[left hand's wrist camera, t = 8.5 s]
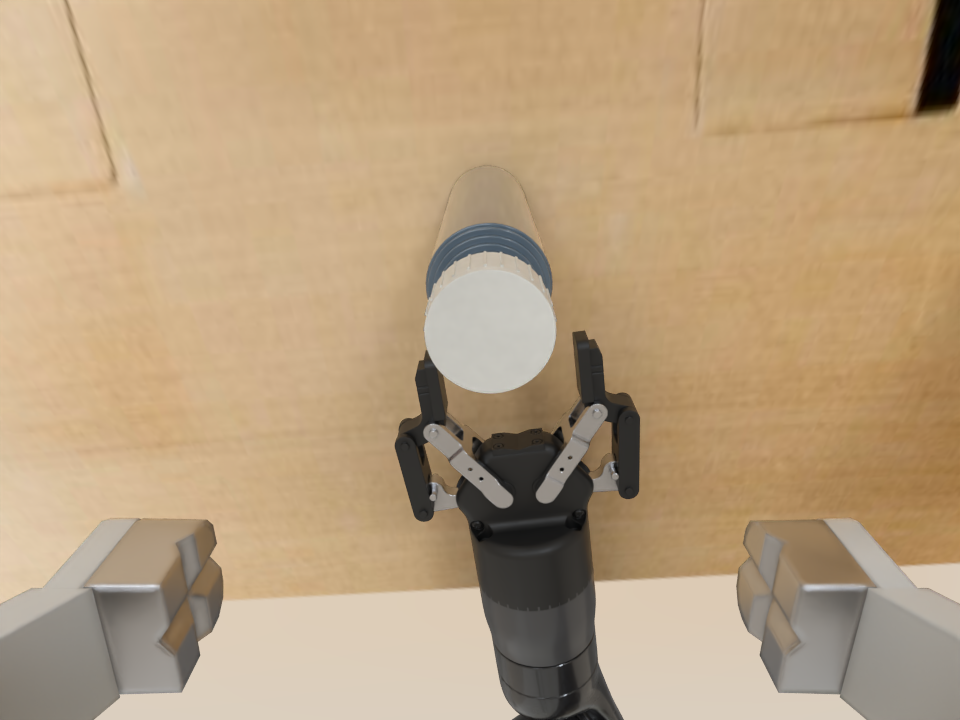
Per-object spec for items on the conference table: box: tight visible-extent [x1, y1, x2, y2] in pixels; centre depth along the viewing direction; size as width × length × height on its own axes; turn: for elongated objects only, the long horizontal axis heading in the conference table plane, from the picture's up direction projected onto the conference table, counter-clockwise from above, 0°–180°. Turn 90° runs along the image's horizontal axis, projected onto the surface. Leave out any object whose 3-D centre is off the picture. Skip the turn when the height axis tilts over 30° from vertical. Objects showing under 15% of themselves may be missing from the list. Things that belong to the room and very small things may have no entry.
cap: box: [423, 251, 557, 393], centre depth 22 cm, size 4×4×2 cm
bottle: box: [426, 166, 553, 300], centre depth 32 cm, size 5×5×23 cm
